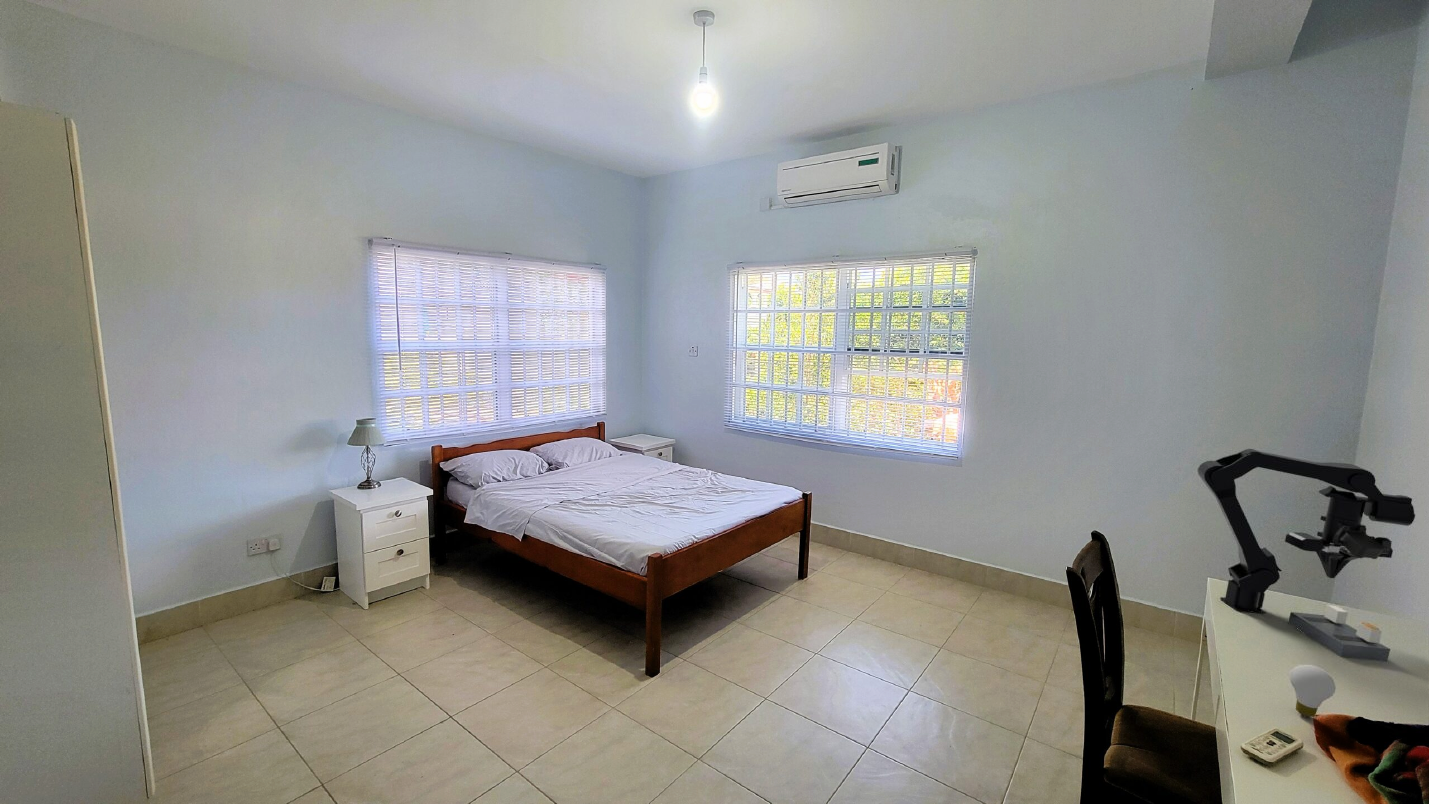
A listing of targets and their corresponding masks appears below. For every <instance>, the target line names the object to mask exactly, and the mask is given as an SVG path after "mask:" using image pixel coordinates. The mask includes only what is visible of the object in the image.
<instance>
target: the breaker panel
mask: <svg viewBox="0 0 1429 804" xmlns="http://www.w3.org/2000/svg"><path fill="white" fill-rule="evenodd" d="M1324 615H1325V614H1318V613H1317V614H1316V613H1304V612H1295V611H1290V613H1289V618H1288V624H1289V623H1290V624H1291V625H1290V624H1289V625H1290V626H1292V625H1293V626H1294V627H1293V626H1292V627H1293V628H1295V627H1296V628H1295V629H1297V628H1298V629H1299V630H1298V629H1297V630H1298V631H1300V630H1301V631H1302V632H1301V631H1300V632H1301V633H1303V632H1304V633H1303V634H1305V636H1308V637H1309V638H1310V639H1313V641H1315V640H1316V641H1315V642H1317V641H1318V642H1319V643H1318V642H1317V643H1318V644H1320V645H1322V646H1323V645H1324V646H1323V647H1324V648H1326V647H1327V648H1326V649H1328V650H1329V649H1330V650H1329V651H1332V652H1333V653H1334V654H1336V655H1338V656H1339V657H1341V658H1351V659H1359V660H1366V661H1367V660H1368V661H1369V660H1370V661H1379V662H1388V661H1389V656H1390V652H1391V648H1389V647H1388V646H1387V645H1386V646H1385V645H1384V644H1382V643H1381V642H1379V643H1373V642H1368V641H1366V640H1364V639H1363V638H1361V637H1359V636H1357V635H1356V632H1357V628H1355V627H1353V626H1350V625H1348V624H1347V623H1345V624H1341V623H1335V622H1333V621H1331V620H1330V619H1328V618H1326V617H1324Z"/></svg>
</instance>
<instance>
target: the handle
mask: <svg viewBox="0 0 1429 804" xmlns="http://www.w3.org/2000/svg"><path fill="white" fill-rule="evenodd" d="M1348 613H1349V612H1348V611H1346V610H1345V609H1344V608H1341V607H1340V606H1338V605H1331V604H1326V607H1325V612H1324V614H1323V615H1324V617H1326V618H1328V619H1330V620H1331V621H1333V622H1335V623H1341V624H1346V623H1347V618H1348Z"/></svg>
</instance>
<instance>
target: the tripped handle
mask: <svg viewBox="0 0 1429 804" xmlns="http://www.w3.org/2000/svg"><path fill="white" fill-rule="evenodd" d="M1356 630H1357V632H1356V635H1357V636H1359V637H1361V638H1363V639H1364V640H1366V641H1368V642H1373V643H1380V642H1381V637H1382V632H1383V630H1381V629H1380V628H1379V627H1376V626H1374V625H1373V624H1371V623H1370V622H1358V624H1357V628H1356Z"/></svg>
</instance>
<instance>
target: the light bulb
mask: <svg viewBox="0 0 1429 804" xmlns="http://www.w3.org/2000/svg"><path fill="white" fill-rule="evenodd" d="M1289 681H1290V684H1291V686H1292V687H1293V690H1294V693H1295V699H1296V703H1295V710H1296V711H1297V712H1298V714H1300V715H1301V716H1302V717H1304V716H1305V717H1304V718H1314V717H1316V716H1317V711H1318V709H1319V707H1321V705H1322V703H1323V702H1325V701H1326V700H1329V699H1330V698H1332V697H1333V696H1334V694H1335V692H1336V682H1335V681H1334V679H1333V678H1332V676H1331V675H1330V674H1329V672H1327V671H1325V670H1324V669H1322V668H1321V667H1318V666H1316V665H1313V664H1312V665H1311V664H1298V665H1296V666H1295V667H1293V668H1292V669H1291V671H1290V673H1289Z"/></svg>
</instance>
